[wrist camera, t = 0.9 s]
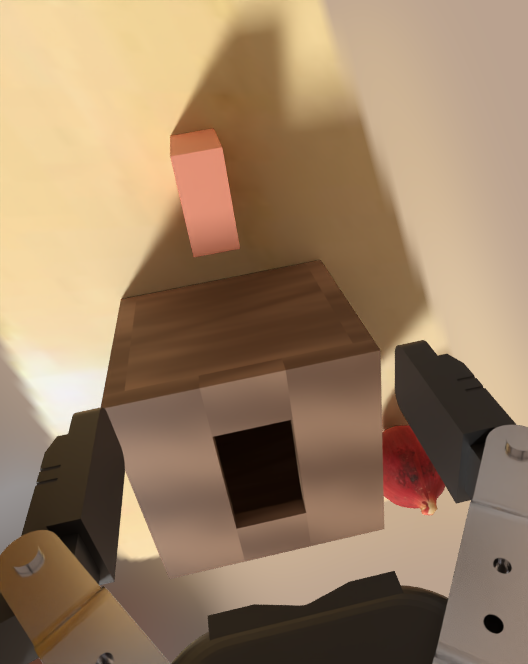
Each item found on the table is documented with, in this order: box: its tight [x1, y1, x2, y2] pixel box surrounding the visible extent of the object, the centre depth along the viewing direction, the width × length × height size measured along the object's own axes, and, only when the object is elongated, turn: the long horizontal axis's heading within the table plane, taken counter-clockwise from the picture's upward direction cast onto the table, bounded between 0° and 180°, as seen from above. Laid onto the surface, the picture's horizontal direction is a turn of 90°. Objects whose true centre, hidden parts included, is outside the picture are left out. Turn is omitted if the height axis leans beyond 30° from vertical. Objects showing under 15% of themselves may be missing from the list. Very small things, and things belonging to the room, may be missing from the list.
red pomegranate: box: [382, 425, 445, 515], centre depth 38 cm, size 6×6×8 cm
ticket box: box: [101, 260, 384, 579], centre depth 31 cm, size 13×13×11 cm
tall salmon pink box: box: [170, 128, 240, 257], centre depth 27 cm, size 5×2×6 cm, turn 8°
